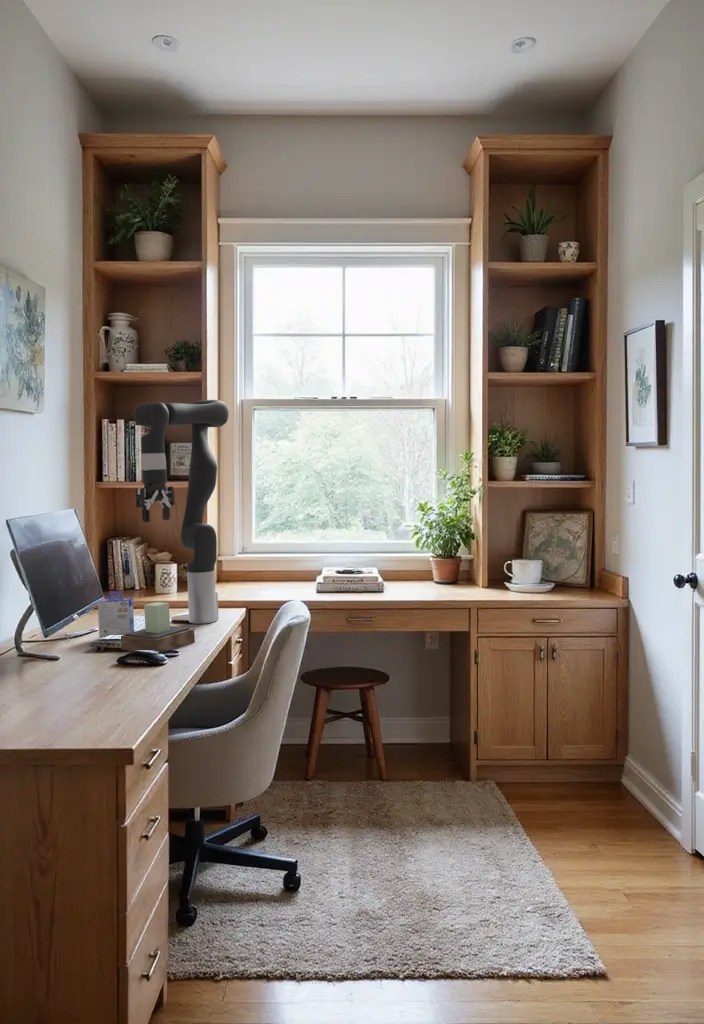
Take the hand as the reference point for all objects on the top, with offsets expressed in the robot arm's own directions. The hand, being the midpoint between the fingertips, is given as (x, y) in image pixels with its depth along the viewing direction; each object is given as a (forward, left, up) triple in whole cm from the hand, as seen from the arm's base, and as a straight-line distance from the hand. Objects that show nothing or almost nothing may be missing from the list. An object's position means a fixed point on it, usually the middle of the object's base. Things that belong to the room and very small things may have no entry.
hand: (156, 521), depth 254 cm
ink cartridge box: (+7, -12, -36) cm, 39 cm away
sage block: (+10, +8, -32) cm, 34 cm away
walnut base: (+10, +8, -36) cm, 38 cm away
